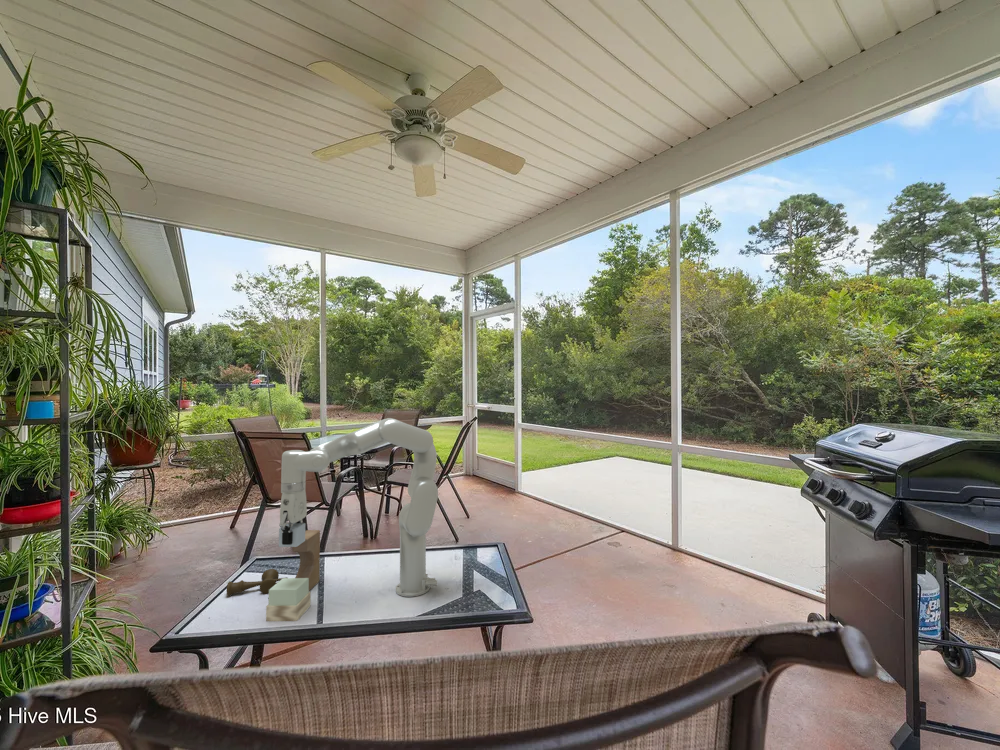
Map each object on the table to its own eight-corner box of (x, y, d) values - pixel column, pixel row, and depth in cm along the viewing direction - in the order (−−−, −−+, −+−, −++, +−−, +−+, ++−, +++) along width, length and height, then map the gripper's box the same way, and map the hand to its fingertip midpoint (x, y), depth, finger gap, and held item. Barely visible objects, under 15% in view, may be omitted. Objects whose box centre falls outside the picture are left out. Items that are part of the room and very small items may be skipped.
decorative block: (306, 594, 157) (306, 539, 158) (290, 594, 158) (291, 539, 159) (320, 581, 169) (320, 529, 169) (306, 581, 169) (306, 529, 170)
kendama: (229, 591, 162) (288, 580, 170) (224, 603, 153) (287, 591, 161) (229, 575, 162) (288, 565, 170) (224, 586, 153) (286, 575, 161)
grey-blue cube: (305, 540, 148) (305, 523, 149) (296, 546, 142) (297, 528, 143) (287, 540, 149) (288, 523, 149) (278, 546, 143) (279, 528, 143)
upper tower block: (308, 592, 149) (308, 578, 149) (296, 605, 140) (296, 589, 140) (282, 593, 149) (282, 578, 149) (268, 605, 140) (268, 590, 140)
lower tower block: (310, 606, 149) (310, 591, 149) (297, 621, 139) (297, 606, 139) (281, 607, 149) (281, 592, 149) (266, 622, 139) (266, 606, 139)
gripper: (291, 492, 138) (290, 550, 137) (315, 482, 155) (314, 532, 154) (268, 492, 138) (267, 550, 137) (294, 482, 155) (293, 532, 154)
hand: (292, 540), depth 146 cm, fingers closed on grey-blue cube, 6 cm apart
